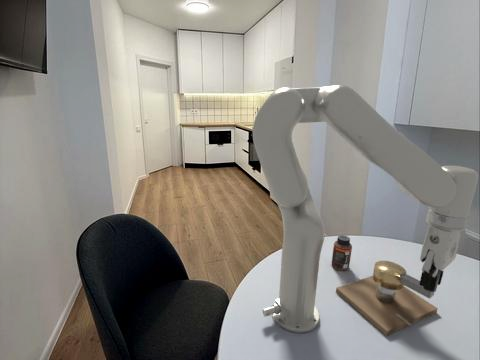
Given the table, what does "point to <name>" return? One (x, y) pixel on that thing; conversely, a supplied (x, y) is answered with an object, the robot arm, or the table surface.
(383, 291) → the steel post
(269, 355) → the table surface
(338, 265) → the supplement bottle
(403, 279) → the brass hub lever
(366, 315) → the walnut base
